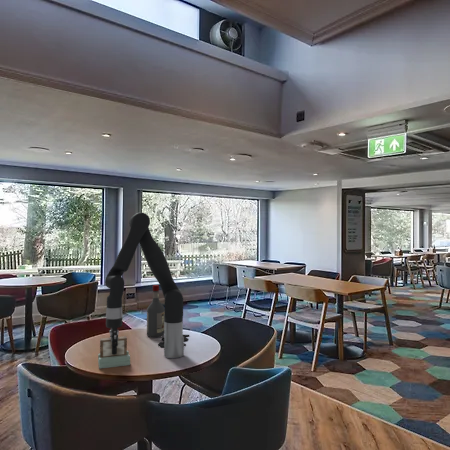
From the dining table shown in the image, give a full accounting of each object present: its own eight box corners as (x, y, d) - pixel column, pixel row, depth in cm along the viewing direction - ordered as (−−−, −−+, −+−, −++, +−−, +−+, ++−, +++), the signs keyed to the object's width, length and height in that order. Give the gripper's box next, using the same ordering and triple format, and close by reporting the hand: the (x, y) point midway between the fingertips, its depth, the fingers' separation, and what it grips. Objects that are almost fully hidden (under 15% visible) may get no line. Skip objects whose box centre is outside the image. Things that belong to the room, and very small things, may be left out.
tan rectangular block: (125, 354, 185) (126, 336, 185) (126, 357, 181) (126, 338, 181) (100, 357, 180) (100, 338, 181) (100, 359, 177) (100, 340, 177)
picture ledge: (127, 358, 188) (128, 349, 188) (130, 364, 179) (130, 356, 179) (98, 361, 183) (98, 353, 183) (99, 368, 174) (99, 359, 174)
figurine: (166, 335, 230) (151, 350, 200) (166, 333, 230) (151, 349, 200) (192, 336, 228) (181, 352, 199) (192, 334, 228) (181, 350, 199)
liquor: (145, 337, 224) (145, 286, 225) (151, 333, 233) (151, 284, 234) (159, 338, 222) (160, 286, 223) (165, 334, 231) (165, 284, 232)
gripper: (123, 319, 176) (123, 356, 176) (121, 312, 189) (120, 347, 189) (106, 320, 173) (106, 358, 173) (105, 314, 187) (104, 349, 186)
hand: (113, 352), depth 181 cm, fingers closed on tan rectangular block, 3 cm apart
